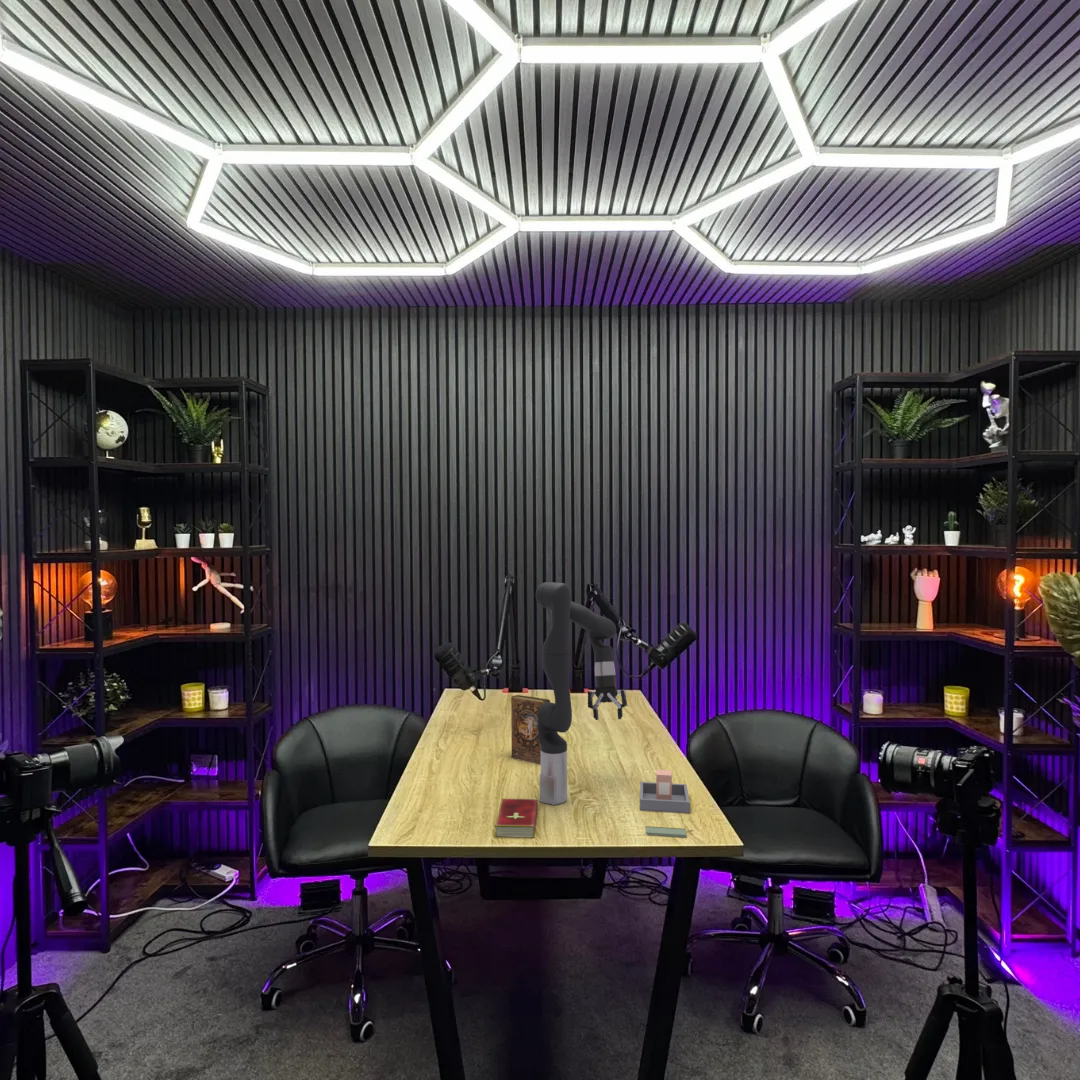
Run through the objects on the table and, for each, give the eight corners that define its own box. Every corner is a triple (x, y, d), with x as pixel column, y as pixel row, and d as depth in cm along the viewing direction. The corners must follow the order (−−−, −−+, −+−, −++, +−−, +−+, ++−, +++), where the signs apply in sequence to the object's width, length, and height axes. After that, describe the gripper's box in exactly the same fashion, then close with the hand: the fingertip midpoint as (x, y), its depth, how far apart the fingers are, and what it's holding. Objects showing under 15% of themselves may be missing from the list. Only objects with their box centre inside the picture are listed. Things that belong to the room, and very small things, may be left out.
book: (509, 758, 275) (509, 697, 275) (516, 754, 280) (516, 694, 280) (543, 764, 267) (543, 702, 267) (550, 760, 272) (550, 699, 271)
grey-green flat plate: (686, 837, 202) (686, 834, 202) (646, 834, 204) (646, 832, 204) (684, 820, 214) (684, 818, 214) (646, 818, 216) (646, 816, 216)
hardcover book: (537, 810, 224) (537, 798, 224) (534, 839, 203) (534, 825, 203) (502, 810, 224) (502, 797, 224) (495, 838, 203) (495, 824, 203)
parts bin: (689, 816, 218) (689, 802, 218) (639, 813, 220) (639, 799, 220) (686, 797, 234) (686, 784, 233) (640, 794, 236) (640, 781, 236)
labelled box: (671, 805, 224) (671, 775, 224) (656, 804, 225) (656, 775, 224) (671, 799, 229) (671, 770, 229) (656, 798, 230) (656, 769, 230)
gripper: (583, 675, 247) (586, 721, 243) (621, 673, 242) (625, 719, 239) (589, 675, 254) (592, 719, 250) (626, 673, 249) (629, 718, 246)
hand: (608, 719), depth 245 cm, fingers open, 8 cm apart
